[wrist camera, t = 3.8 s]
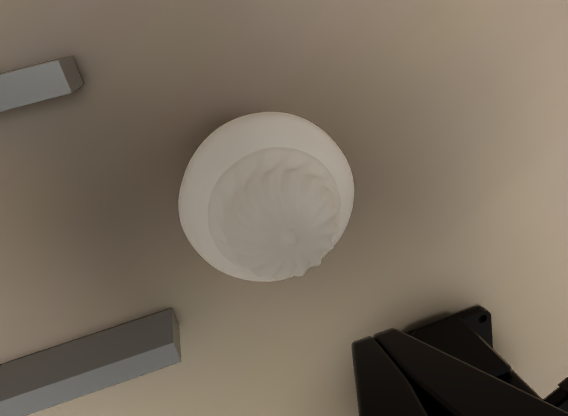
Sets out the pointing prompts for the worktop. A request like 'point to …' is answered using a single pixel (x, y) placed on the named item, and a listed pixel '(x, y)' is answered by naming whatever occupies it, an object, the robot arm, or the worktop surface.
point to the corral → (94, 348)
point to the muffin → (266, 197)
